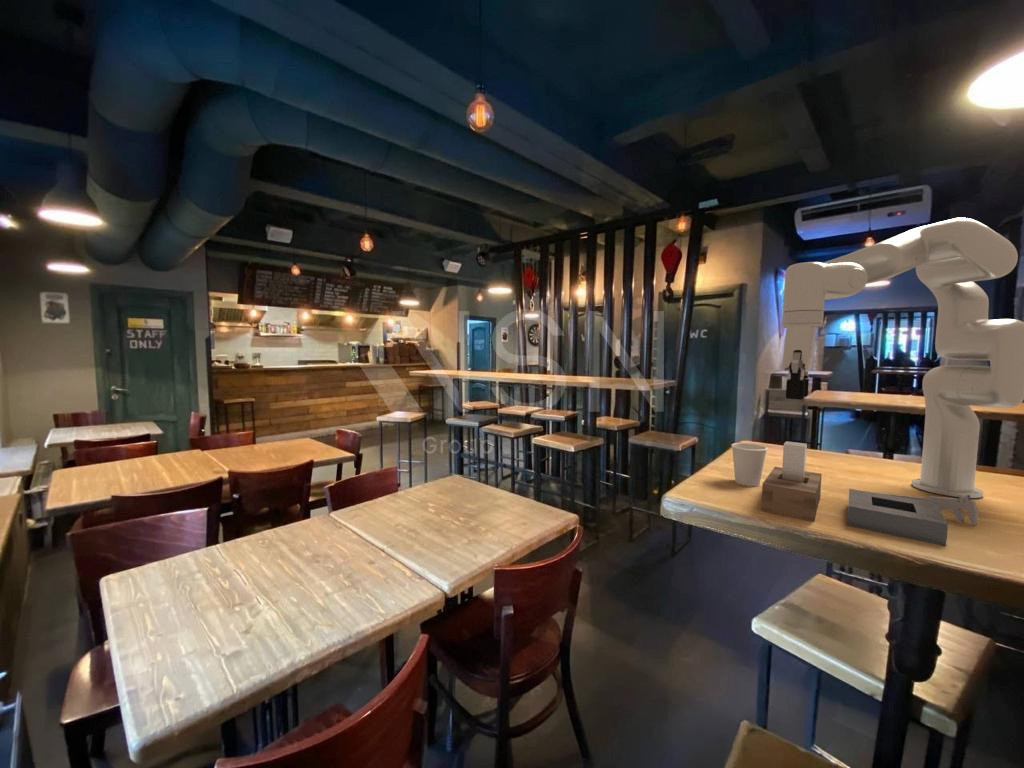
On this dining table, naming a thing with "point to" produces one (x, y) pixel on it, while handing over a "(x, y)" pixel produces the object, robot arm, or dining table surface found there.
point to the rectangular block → (794, 462)
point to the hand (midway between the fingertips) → (797, 397)
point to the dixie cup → (748, 463)
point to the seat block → (897, 516)
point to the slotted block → (791, 495)
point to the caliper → (951, 505)
